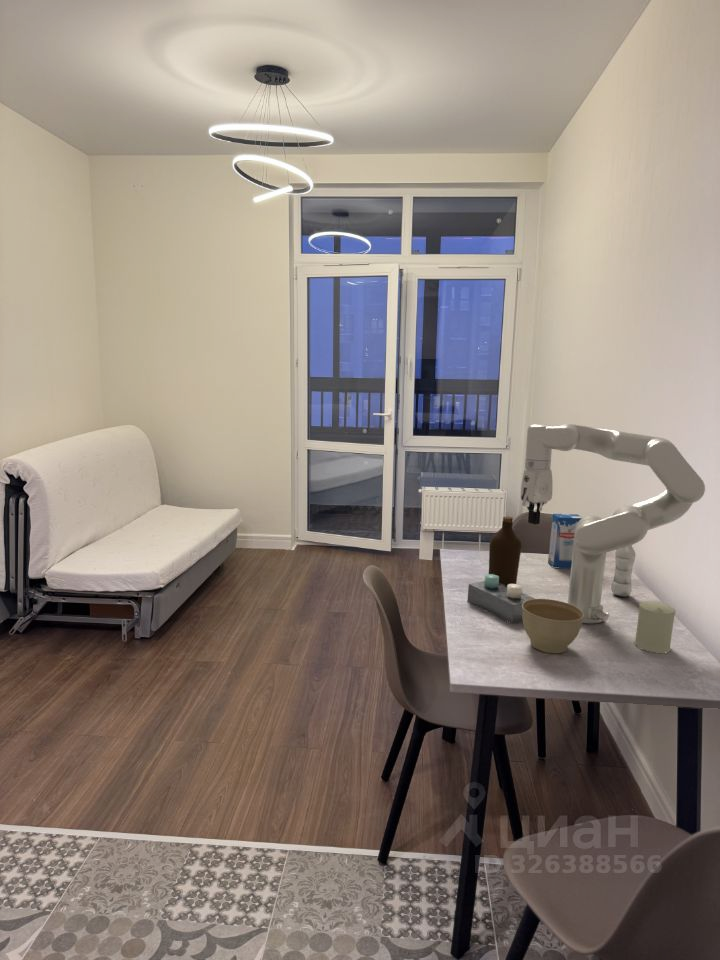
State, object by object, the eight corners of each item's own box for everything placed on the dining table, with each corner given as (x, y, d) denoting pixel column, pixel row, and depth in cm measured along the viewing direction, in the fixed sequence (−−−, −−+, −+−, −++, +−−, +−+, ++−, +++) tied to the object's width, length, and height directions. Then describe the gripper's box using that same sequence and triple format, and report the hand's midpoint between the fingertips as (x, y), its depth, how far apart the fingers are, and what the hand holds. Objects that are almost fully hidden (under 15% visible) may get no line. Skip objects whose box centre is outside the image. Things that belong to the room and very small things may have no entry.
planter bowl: (573, 665, 165) (577, 625, 164) (511, 649, 173) (515, 611, 171) (584, 643, 179) (589, 606, 177) (527, 629, 187) (530, 594, 185)
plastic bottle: (615, 598, 217) (622, 541, 213) (607, 591, 223) (613, 535, 220) (634, 599, 217) (641, 541, 213) (625, 592, 223) (632, 536, 220)
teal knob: (499, 604, 205) (502, 577, 203) (489, 606, 203) (491, 579, 201) (490, 600, 209) (492, 573, 207) (479, 602, 206) (482, 575, 205)
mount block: (535, 618, 196) (537, 599, 195) (512, 624, 191) (513, 604, 190) (490, 597, 212) (491, 579, 211) (467, 601, 207) (468, 583, 206)
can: (639, 651, 176) (645, 610, 173) (630, 638, 185) (635, 598, 182) (675, 655, 174) (681, 613, 172) (664, 641, 183) (669, 601, 181)
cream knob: (522, 615, 197) (525, 587, 195) (512, 618, 194) (514, 589, 193) (512, 610, 200) (514, 583, 199) (501, 612, 198) (504, 585, 196)
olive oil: (493, 593, 216) (499, 521, 211) (481, 583, 226) (487, 513, 222) (522, 592, 218) (529, 521, 213) (509, 582, 228) (515, 513, 224)
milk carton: (572, 563, 254) (577, 514, 251) (578, 568, 248) (584, 518, 245) (547, 563, 254) (552, 513, 250) (553, 567, 247) (558, 517, 244)
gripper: (531, 468, 190) (527, 528, 193) (563, 464, 199) (558, 522, 202) (511, 465, 196) (508, 523, 199) (543, 461, 204) (539, 518, 208)
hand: (533, 523), depth 200 cm, fingers closed
